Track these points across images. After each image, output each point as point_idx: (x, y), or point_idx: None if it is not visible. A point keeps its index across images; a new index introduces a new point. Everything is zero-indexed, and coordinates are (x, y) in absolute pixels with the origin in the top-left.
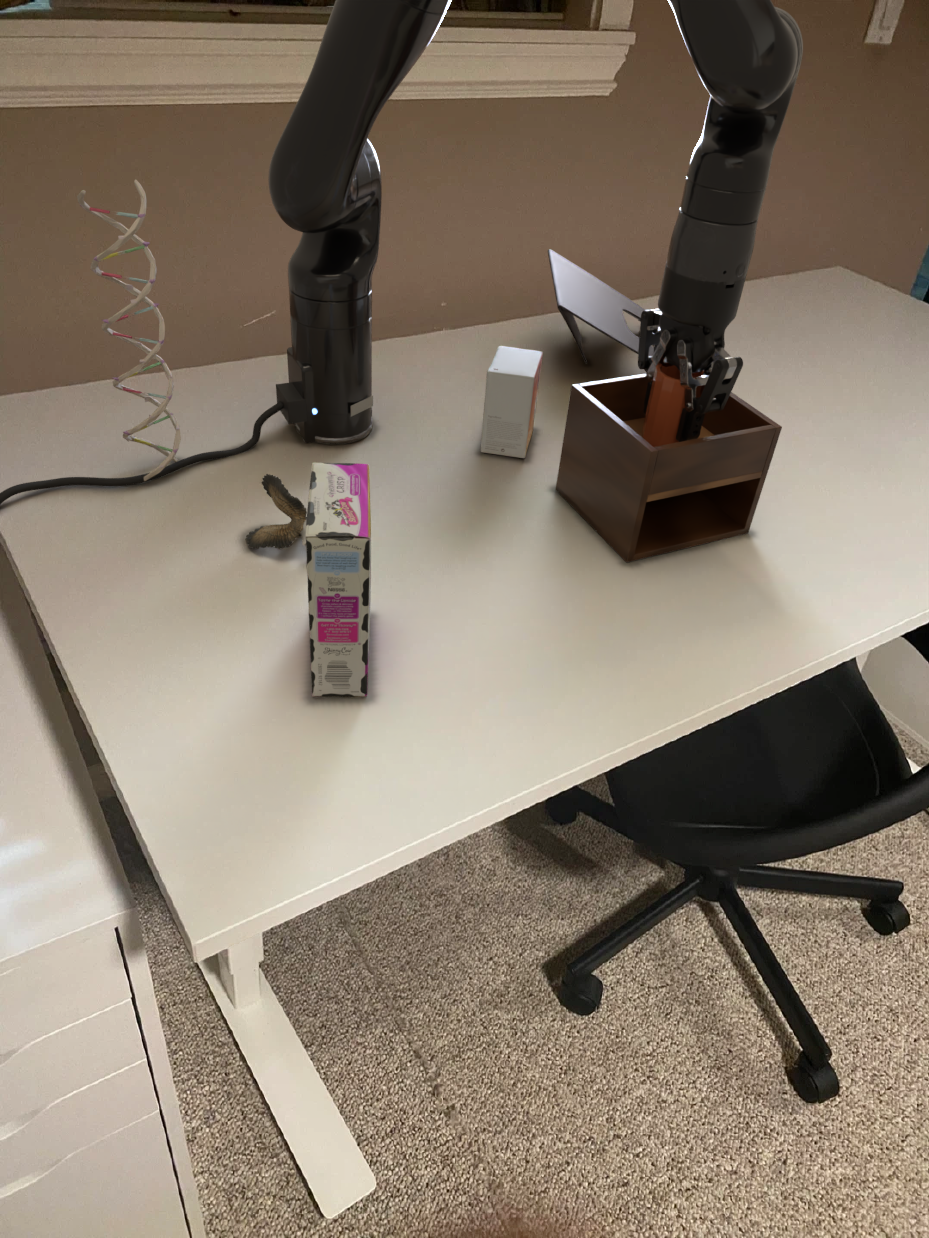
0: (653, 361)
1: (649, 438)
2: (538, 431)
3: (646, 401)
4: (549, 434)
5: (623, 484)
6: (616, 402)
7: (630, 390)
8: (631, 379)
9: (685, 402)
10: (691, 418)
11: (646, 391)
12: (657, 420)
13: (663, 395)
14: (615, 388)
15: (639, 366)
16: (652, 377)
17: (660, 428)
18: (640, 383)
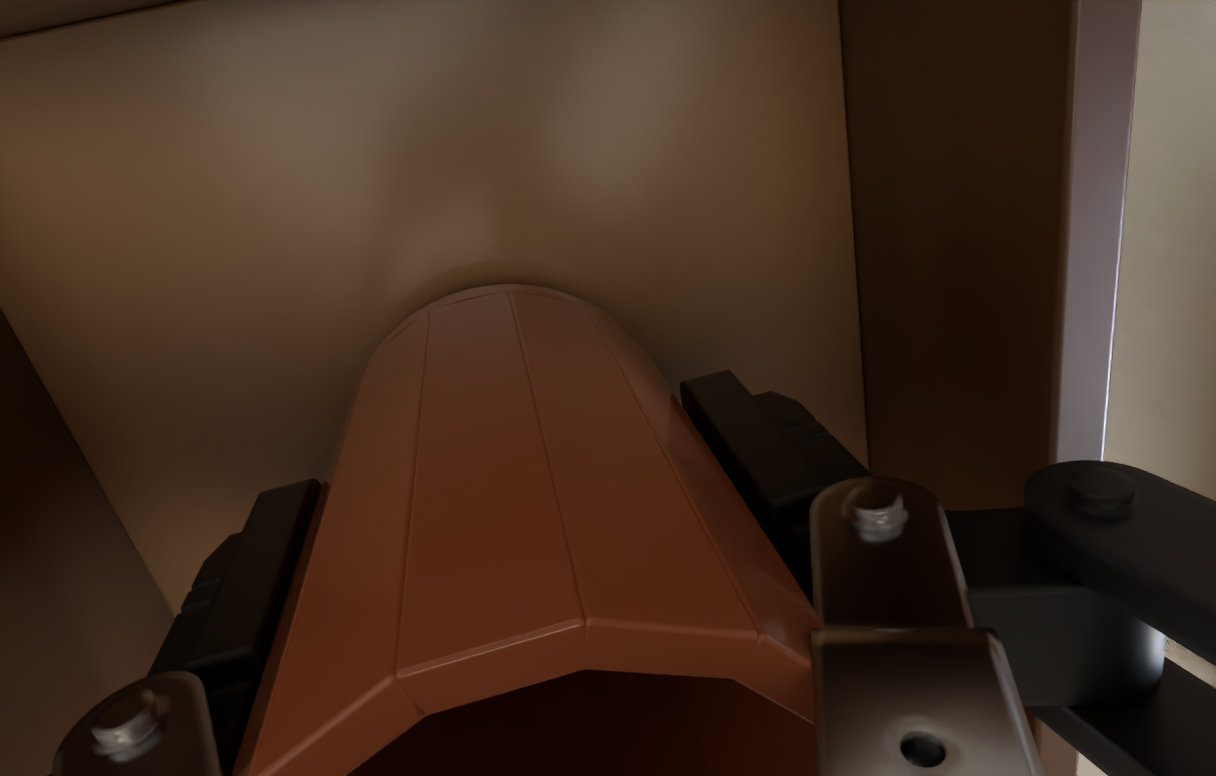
0: (917, 644)
1: (438, 313)
2: (1186, 10)
3: (751, 409)
4: (1146, 56)
5: None
6: (933, 225)
7: (984, 354)
8: (1054, 381)
9: (189, 712)
10: (168, 667)
11: (837, 444)
12: (399, 394)
13: (372, 531)
14: (1015, 216)
15: (1082, 470)
16: (825, 534)
17: (377, 398)
18: (1016, 449)
